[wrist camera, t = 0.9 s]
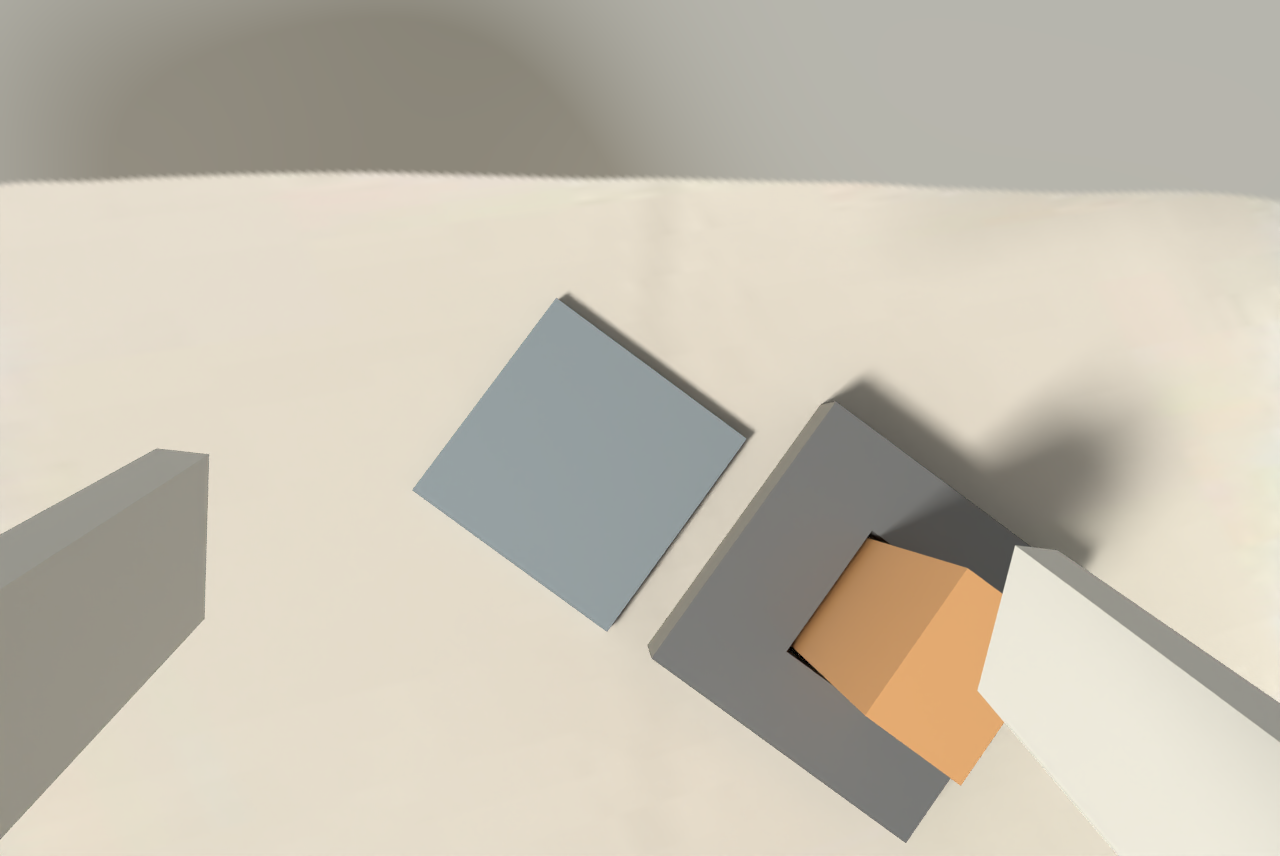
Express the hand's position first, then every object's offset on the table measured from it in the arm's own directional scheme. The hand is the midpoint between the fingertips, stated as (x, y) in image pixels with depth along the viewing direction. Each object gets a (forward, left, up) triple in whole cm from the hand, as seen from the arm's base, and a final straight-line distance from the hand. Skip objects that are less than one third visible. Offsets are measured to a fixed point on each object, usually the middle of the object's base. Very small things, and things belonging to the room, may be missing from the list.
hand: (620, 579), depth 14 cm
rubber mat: (+2, -1, -26) cm, 26 cm away
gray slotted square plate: (-13, -3, -26) cm, 29 cm away
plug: (-13, -3, -26) cm, 29 cm away
